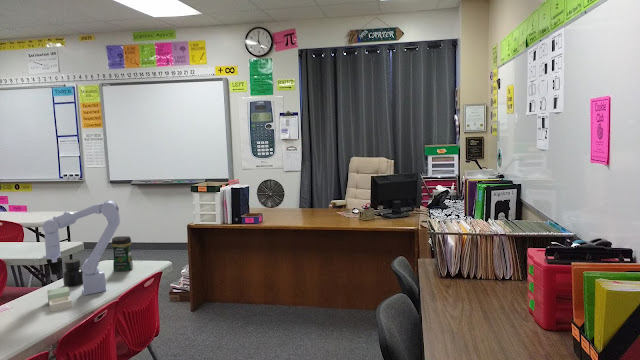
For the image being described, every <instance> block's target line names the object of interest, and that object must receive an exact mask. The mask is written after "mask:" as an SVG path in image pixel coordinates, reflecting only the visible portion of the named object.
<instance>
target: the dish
mask: <svg viewBox="0 0 640 360" xmlns="http://www.w3.org/2000/svg"><path fill="white" fill-rule="evenodd" d="M72 304H73V303H72V298H71V296H66V297H61V298H56V299H51V300H49V302H48V306H49V313H50V312H56V311H62V310H66V309H71V308H73V305H72Z"/></svg>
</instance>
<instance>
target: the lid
mask: <svg viewBox="0 0 640 360" xmlns="http://www.w3.org/2000/svg"><path fill="white" fill-rule="evenodd" d="M46 294H47V300H48V299H49V300H51V299H56V298H61V297H66V296H70V290H69V287H66V286H64V287H57V288H54V289H47V293H46ZM70 297H71V296H70Z"/></svg>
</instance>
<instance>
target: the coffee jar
mask: <svg viewBox="0 0 640 360" xmlns="http://www.w3.org/2000/svg"><path fill="white" fill-rule="evenodd" d="M111 247H112V249H113V265H112V266H113V271H115V272H126V271H125V270H127V271H129V269H130V270H132V269H133V268H134V264H133V257H132V249H131V247H132V239H131V236H128V235H127V236H124V235H123V236H113V237H112V238H111ZM131 268H132V269H131Z"/></svg>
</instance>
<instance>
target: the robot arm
mask: <svg viewBox="0 0 640 360" xmlns="http://www.w3.org/2000/svg"><path fill="white" fill-rule="evenodd" d="M93 214H97V215H103V216H104V217H105V219H106V221H107V224H106V227H105V228H104V230H103V232H102V234H101V235H100V238H99V239H98V240H97V243H96V245H95V246H94V248H93V250H92V252H91V254H90V255H89V256H88V257H86V259H85V260H84V263H82V265H81V266H80V268H81V270H82V272H83V273H82V277H83V284H82V286H83V287H82V288H83V289H82V290H81V291H82V294H83V296H86V295H87V296H88V295H92V294H96V293H97V294H98V293H101V292H106V291H107V282H106V275H105V271H104V270H99V268H98V266H99V264H100V262H99V261H100V259H101V258H102V256H103V254H104V252H105V251H106V249H107V247H108V244H109V243H110V241H112V239H113V237H114V235H115V233H116V231H117V229H118V227H119V225H120V223H121V217H120V208H119V206H118V204H117V202H115V201H114V200H113V199H109V200H106V201H101V202H98V203H95V204H92V205H90V206H87V207H86V208H83V209H80V210H78V211H76V212H72V211H68V212H67V211H64V212H63V214H60V215H58V216H53V217H52V218H50V219H47V220H46V221H45V222H44V223H43V224H42V231H44V247H45V254H44V255H42V257H43V259H46V263H47V264H48V267H49V269H50V273H51V275H52V276H54V275H55V276H56V275H58V274H59V267H60V263H61V261H62V259H61V256H62V254H61V243H60V232H59V231H60V230H61V229H64V228H66V227H69V226H71V225H73V224H76V222H77V220H79V219H82V218H85V217H88V216H90V215H93ZM59 229H60V230H59Z"/></svg>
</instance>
